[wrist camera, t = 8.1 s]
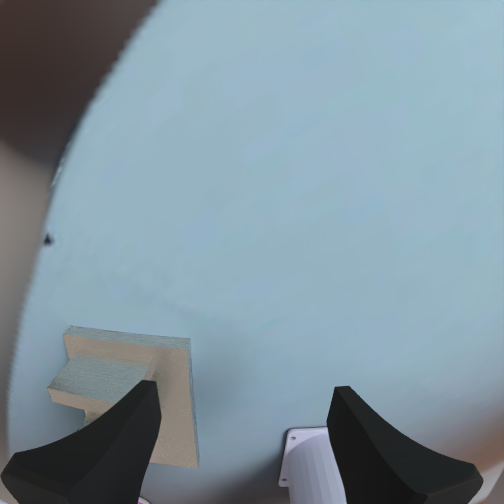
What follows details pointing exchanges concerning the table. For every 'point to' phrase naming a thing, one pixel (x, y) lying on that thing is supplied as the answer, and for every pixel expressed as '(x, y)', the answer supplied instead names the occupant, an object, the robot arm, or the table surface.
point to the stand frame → (132, 383)
